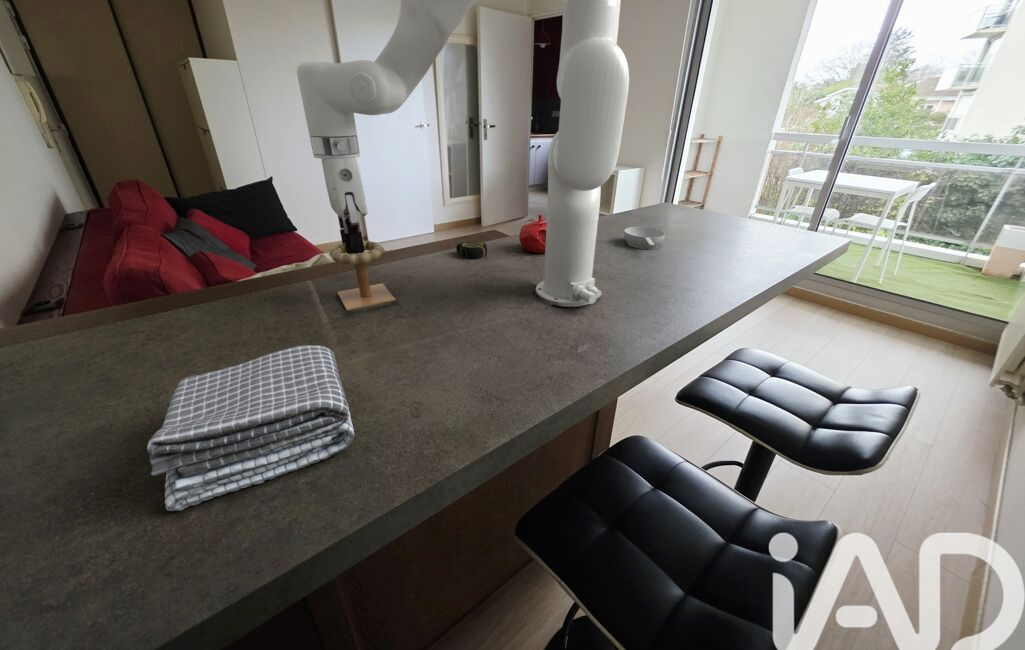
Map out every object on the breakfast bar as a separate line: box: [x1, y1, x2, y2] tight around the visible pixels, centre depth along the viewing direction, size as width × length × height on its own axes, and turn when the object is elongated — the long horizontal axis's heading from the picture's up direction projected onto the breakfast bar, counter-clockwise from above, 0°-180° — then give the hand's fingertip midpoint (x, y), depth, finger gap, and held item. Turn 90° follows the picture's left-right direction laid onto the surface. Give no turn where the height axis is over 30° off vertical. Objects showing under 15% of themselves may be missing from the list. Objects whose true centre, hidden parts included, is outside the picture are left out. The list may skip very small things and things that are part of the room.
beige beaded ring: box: [329, 240, 385, 265], centre depth 77 cm, size 9×9×2 cm
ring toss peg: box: [337, 263, 396, 312], centre depth 79 cm, size 9×9×9 cm
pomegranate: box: [518, 213, 547, 254], centre depth 108 cm, size 10×10×9 cm
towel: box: [146, 344, 355, 512], centre depth 46 cm, size 15×18×8 cm
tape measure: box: [455, 240, 488, 260], centre depth 103 cm, size 7×7×4 cm
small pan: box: [623, 226, 666, 250], centre depth 111 cm, size 11×18×4 cm, turn 172°
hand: (353, 250), depth 79 cm, fingers closed on beige beaded ring, 2 cm apart
